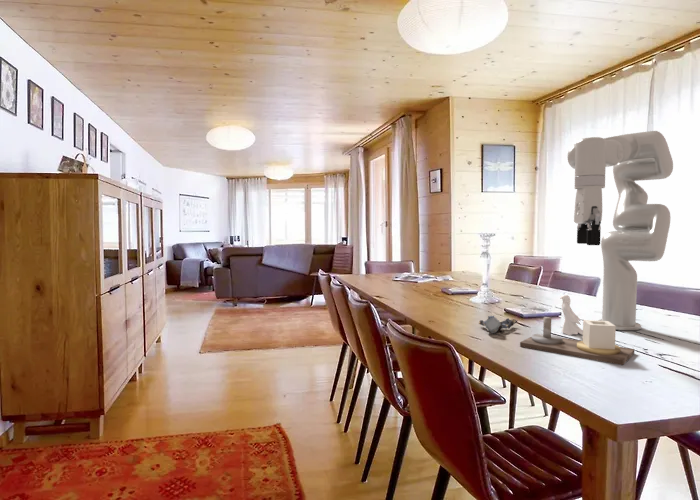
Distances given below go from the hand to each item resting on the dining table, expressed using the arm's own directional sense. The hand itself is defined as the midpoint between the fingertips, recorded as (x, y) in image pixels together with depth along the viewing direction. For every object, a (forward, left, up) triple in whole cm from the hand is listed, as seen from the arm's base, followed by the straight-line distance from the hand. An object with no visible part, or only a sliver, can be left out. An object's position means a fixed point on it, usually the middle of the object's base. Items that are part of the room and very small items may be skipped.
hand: (588, 244), depth 127 cm
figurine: (-10, -6, -29) cm, 31 cm away
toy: (+2, -26, -29) cm, 39 cm away
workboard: (+9, 0, -28) cm, 30 cm away
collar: (+9, +5, -26) cm, 28 cm away
